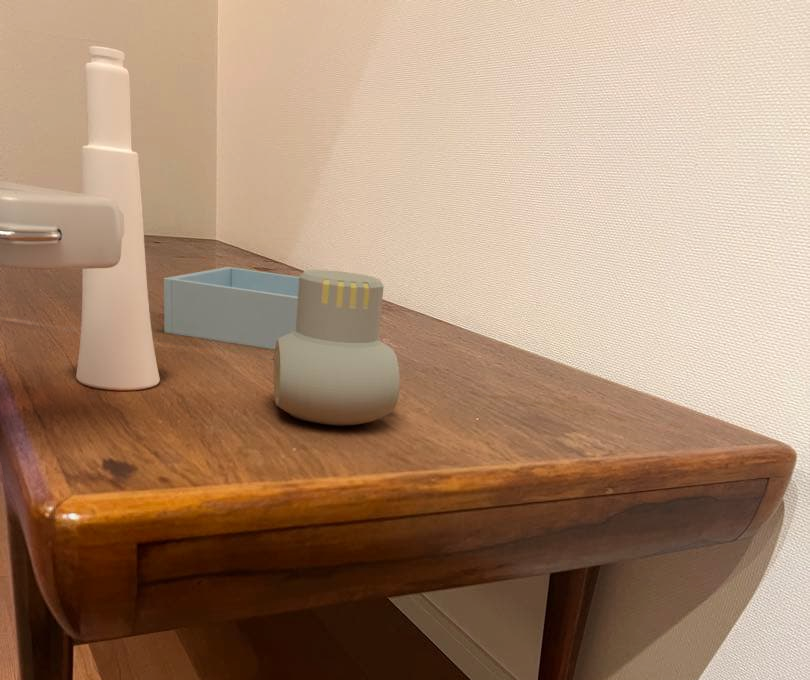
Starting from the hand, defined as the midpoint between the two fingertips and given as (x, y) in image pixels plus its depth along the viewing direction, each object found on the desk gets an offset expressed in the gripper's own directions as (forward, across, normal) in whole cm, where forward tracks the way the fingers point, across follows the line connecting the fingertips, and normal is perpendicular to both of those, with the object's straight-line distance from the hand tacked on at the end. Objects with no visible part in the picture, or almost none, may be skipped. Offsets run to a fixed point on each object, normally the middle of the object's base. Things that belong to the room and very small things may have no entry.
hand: (58, 213), depth 51 cm
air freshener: (+9, -17, +12) cm, 22 cm away
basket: (+30, +3, +12) cm, 32 cm away
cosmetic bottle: (+5, 0, +12) cm, 13 cm away
